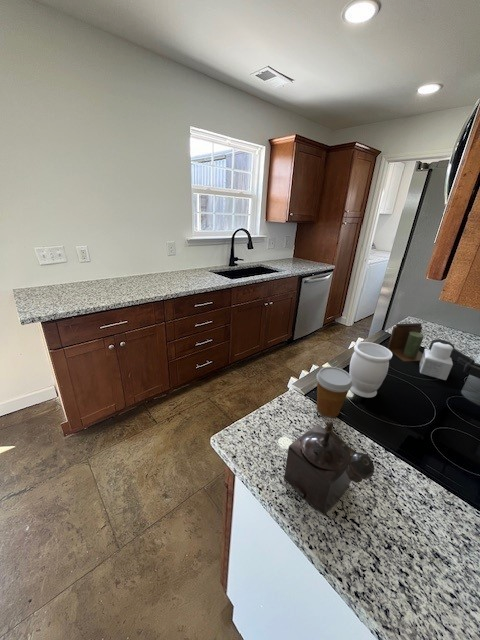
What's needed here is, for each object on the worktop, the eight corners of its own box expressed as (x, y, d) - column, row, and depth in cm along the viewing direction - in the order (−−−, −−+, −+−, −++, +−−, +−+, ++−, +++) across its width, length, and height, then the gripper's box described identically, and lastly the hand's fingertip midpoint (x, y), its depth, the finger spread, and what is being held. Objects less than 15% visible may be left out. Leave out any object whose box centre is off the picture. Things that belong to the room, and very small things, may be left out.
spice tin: (413, 352, 107) (420, 332, 103) (418, 358, 103) (426, 337, 99) (401, 350, 108) (407, 330, 104) (405, 356, 103) (412, 336, 100)
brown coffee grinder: (280, 478, 57) (289, 414, 50) (311, 451, 64) (323, 391, 56) (345, 544, 46) (369, 475, 39) (375, 503, 53) (400, 438, 46)
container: (418, 365, 100) (429, 335, 95) (443, 372, 97) (456, 340, 91) (418, 375, 94) (430, 343, 89) (445, 383, 90) (459, 350, 85)
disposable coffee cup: (307, 414, 75) (313, 379, 70) (314, 394, 83) (320, 362, 78) (343, 426, 71) (352, 390, 66) (346, 404, 79) (355, 371, 74)
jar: (384, 389, 86) (396, 349, 80) (374, 405, 79) (387, 363, 73) (351, 376, 93) (361, 338, 87) (339, 389, 85) (348, 349, 79)
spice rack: (412, 349, 112) (421, 322, 107) (431, 362, 102) (442, 334, 97) (386, 350, 110) (394, 323, 105) (402, 363, 101) (412, 335, 96)
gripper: (502, 415, 61) (431, 364, 80) (591, 408, 64) (502, 361, 83) (517, 389, 58) (439, 342, 77) (610, 383, 61) (513, 340, 80)
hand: (471, 352), depth 80 cm, fingers open, 13 cm apart
